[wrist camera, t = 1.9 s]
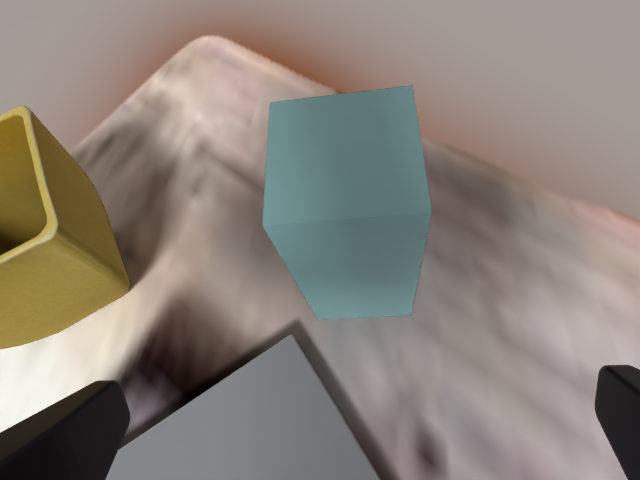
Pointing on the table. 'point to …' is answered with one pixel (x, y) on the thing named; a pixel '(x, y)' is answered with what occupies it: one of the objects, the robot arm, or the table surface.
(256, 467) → the coaster
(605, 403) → the robot arm
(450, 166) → the table surface
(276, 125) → the block
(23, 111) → the flower pot
